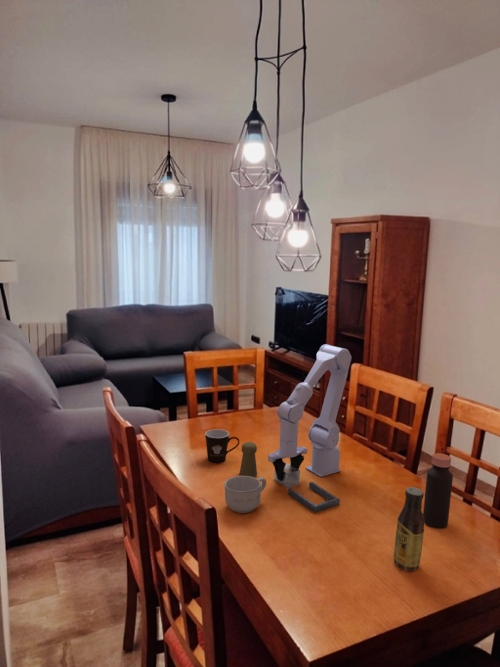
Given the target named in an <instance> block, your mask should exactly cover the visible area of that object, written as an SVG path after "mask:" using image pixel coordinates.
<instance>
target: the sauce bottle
mask: <svg viewBox="0 0 500 667" xmlns="http://www.w3.org/2000/svg"><path fill="white" fill-rule="evenodd" d="M404 495H405V501H404V505H403V508H402V509H401V511H400V513H399V515H398V517H397V521H396V532H395V538H394V549H393V563H394V565H395V566H396V567H397V568H398V569H400V571H404V572H409V573H410V572H415V571H418V570H419V568H420V563H421V559H422V558H421V556H422V549H423V542H424V533H425V519H424V515H423V510H422V504H423V503H422V502H423V499H424V496H425V492H424V491H423V490H422V489H421V488H420V487H419V488H417V487H416V486H415V487H414V486H413V487H412V486H408V487H406V489H405V493H404Z"/></svg>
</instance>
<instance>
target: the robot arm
mask: <svg viewBox="0 0 500 667" xmlns="http://www.w3.org/2000/svg"><path fill="white" fill-rule="evenodd" d="M351 362H352V355H351V353H350V351H349V349H347V348H343V347H338V346H334V345H330V344H327V343H325V344H323V345H321V346H320V347H319V350H318V351H317V353H316V360H315V362H314V364H313V366H312V367H311V369H310V370H309V373H308V374H307V376H306V378H305V379H304V381H303V382H299V383H298V384H297V385H295V387H294V389H293V390H292V391H291V392H292V393H291V394H290V396H288V399H286V401H283V402H281V404H280V405H279V406H278V409H277V410H276V414H277V416H278V419H279V420H278V422H279V423H280V430H279V447H278V450H276V451H274V452H272V453H269V454H267V461H269V462H270V463H272V464H273V467H274V471H275V470H276V474H277V479H278V480H280V481H283V473H284V468H285V465H286V463H287V462H285V461H284V459H288V458H289V461H290V465H292V466H294V467H295V468H297V469H298V470H300V467H301V465H302V463H303V462H304V461H305V456H304V455H306V454H308V448H307V447H305V446H298V437H299V436H298V435H299V422H300V420H301V419H302V418H303V416H304V411H305V407H306V405H307V403H308V402H309V400H310V399H311V397H312V395H313V394H314V392H313V391H314V390H313V388H314V387H315V386H316V384H317V383H318V382H319V380H320V379H321V378H322V377H323V375H324V374H325V373H326V372H327V371H329V372H330V377H329V382H328V385H327V389H326V392H325V396H324V400H323V404H322V408H321V411H320V415H319V417H317V418H316V419H314V420H313V421H312V424H311V426H310V428H309V430H308V433H307V436H308V437H307V438H308V439H309V441H310V444H311V445H312V449H311V463H310V464H311V465H307V466H306V467H305V468H306V470H308V471H310V472H311V473H313V474H315V475H316V476H318V477H320V478H322V477H325V476H328V475H332V474H335V473H339V472H341V469H340V460H341V459H340V457H341V452H340V448H339V447H338V445H339V441H340V430H341V429H340V427H339V426H338V423H337V422H336V420H337V415H338V412H339V408H340V405H341V401H342V397H343V394H344V390H345V386H346V382H347V378H348V374H349V369H350V365H351Z"/></svg>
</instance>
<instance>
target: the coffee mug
mask: <svg viewBox="0 0 500 667" xmlns="http://www.w3.org/2000/svg"><path fill="white" fill-rule="evenodd" d="M204 435H205V436H204V437H205V445H206V456H207V461H208V462H209V463H210V464H217V465H218V464H223V463H225V462H226V460H227V459H226V458H227V454H228V453H230V452H231V451H233V450H235V449H236V448H237V447H238V446H239V444H240V439H239V438H238V437H236V436H231V437H230V432H229V431H227V430H225V429H219V428H218V429H210V430H207V431H205V434H204ZM233 439H234V440H235V439H236V440H237V443H236V445H235V446H234V447H232V448H230V449H229V450H228V445H229V443H230V441H231V440H233Z"/></svg>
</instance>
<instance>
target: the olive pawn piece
mask: <svg viewBox="0 0 500 667" xmlns="http://www.w3.org/2000/svg"><path fill="white" fill-rule="evenodd" d="M257 451H258V446H257V445H256V443H254V442H251V441H246V442H244V443H243V444H242V445H241V452H242V458H241V464H240V470H239V476H250V477H254V478H256V477H257V476H258V469H257V459H256V453H257Z"/></svg>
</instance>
